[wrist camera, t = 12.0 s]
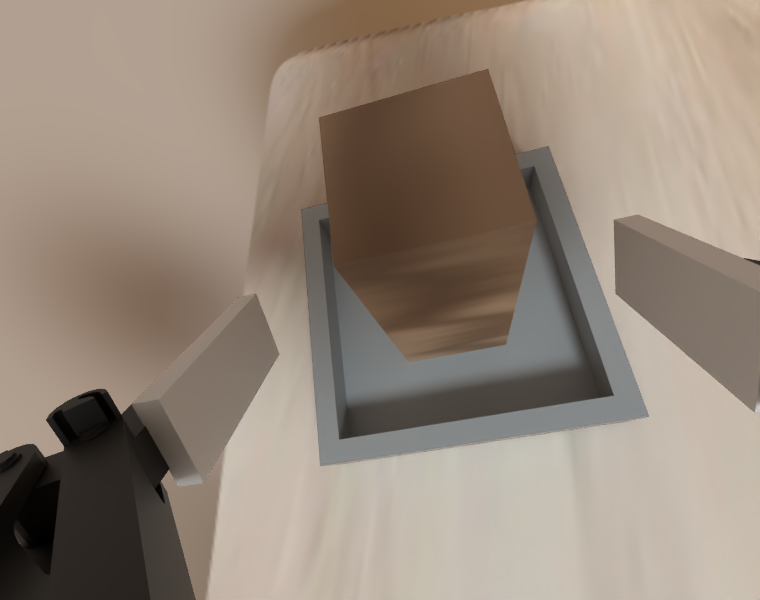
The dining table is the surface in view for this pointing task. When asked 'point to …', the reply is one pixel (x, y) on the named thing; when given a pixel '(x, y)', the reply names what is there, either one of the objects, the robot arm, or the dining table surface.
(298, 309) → the dining table surface
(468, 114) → the block
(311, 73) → the dining table surface
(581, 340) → the tray
